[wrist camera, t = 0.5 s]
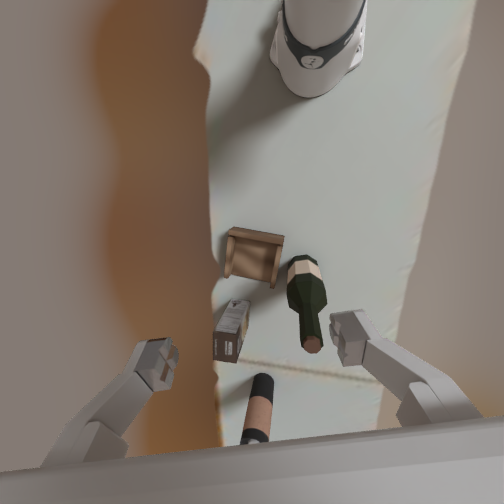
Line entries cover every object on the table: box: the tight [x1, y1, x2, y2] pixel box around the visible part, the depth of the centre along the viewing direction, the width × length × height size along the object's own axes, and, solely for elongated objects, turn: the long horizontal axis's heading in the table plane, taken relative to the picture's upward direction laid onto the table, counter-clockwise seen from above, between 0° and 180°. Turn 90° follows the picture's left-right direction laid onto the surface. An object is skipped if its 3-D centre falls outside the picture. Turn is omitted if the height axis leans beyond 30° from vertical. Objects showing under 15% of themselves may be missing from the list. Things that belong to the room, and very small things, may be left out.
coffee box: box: [213, 299, 250, 363], centre depth 58 cm, size 9×6×16 cm
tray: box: [224, 227, 285, 289], centre depth 56 cm, size 14×14×5 cm
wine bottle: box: [287, 255, 327, 353], centre depth 43 cm, size 8×8×30 cm
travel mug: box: [240, 373, 274, 445], centre depth 63 cm, size 8×8×20 cm
